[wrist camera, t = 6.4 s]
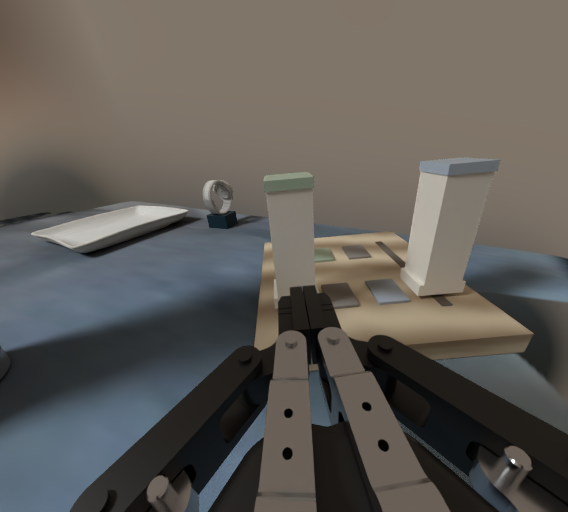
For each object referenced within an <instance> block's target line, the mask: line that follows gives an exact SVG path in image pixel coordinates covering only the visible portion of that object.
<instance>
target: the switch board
mask: <svg viewBox="0 0 568 512" xmlns="http://www.w3.org/2000/svg"><path fill="white" fill-rule="evenodd" d="M408 245H409V244H408V243H407V242H406V241H404V240H403V239H402V238H400V237H399V236H397V235H396V234H395V233H393V232H392V231H391V232H379V233H368V234H357V235H346V236H335V237H324V238H314V258H315V281H316V284H317V288H318V291H319V293H326V294H327V295H328V296H329V297H330V299H331V301H332V305H333V307H334V310H335V312H336V315H337V318H338V321H339V323H340V326H341V329H342V330H343V331H344V332H345V333H346V334H347V335H348V336H349V337H350V338H353V339H355V340H360V341H366V342H368V341H369V339H370V338H371V337H373V336H375V335H386V336H389V337H392V338H394V339H395V340H397V341H399V342H401V343H403V344H404V345H406V346H408V347H410V348H412V349H413V350H415V351H417V352H419V353H421V354H423V355H424V356H426V357H428V358H430V359H432V360H439V359H451V358H462V357H473V356H484V355H496V354H507V353H518V352H524V351H525V349H526V348H527V346H528V344H529V342H530V340H531V338H532V336H533V333H532V332H531V331H529V330H528V329H527V328H525V327H524V326H522V325H521V324H520V323H518V322H517V321H516V320H514V319H513V318H511V317H510V316H509V315H507V314H506V313H504V312H503V311H502V310H500V309H499V308H497V307H496V306H495V305H493V304H492V303H491V302H489V301H488V300H486V299H485V298H483V297H482V296H481V295H479V294H478V293H477V292H475V291H474V290H472V289H471V288H470V287H468V286H467V285H465V287H464V290H463V292H459V293H448V294H437V295H425V296H417V295H416V294H415V293H414V292H413V291H412V290H411V289H410V288H409V286H408V285H407V284H406V283H405V282H404V281H403V280H402V279H401V278H400V272H401V268H405V263H406V257H407V251H408ZM274 279H276V277H275V268H274V259H273V250H272V242H269V243H265V247H264V257H263V266H262V276H261V285H260V295H259V305H258V314H257V324H256V333H255V343H254V347H256V348H257V349H258V350H259V351H260V350H263V349H266V348H268V347H270V346H272V345H273V344H274V343H275V342H276V340H277V338H278V309H275V304H274ZM315 370H319V369H318V364H312V358H311V365H309V371H315Z"/></svg>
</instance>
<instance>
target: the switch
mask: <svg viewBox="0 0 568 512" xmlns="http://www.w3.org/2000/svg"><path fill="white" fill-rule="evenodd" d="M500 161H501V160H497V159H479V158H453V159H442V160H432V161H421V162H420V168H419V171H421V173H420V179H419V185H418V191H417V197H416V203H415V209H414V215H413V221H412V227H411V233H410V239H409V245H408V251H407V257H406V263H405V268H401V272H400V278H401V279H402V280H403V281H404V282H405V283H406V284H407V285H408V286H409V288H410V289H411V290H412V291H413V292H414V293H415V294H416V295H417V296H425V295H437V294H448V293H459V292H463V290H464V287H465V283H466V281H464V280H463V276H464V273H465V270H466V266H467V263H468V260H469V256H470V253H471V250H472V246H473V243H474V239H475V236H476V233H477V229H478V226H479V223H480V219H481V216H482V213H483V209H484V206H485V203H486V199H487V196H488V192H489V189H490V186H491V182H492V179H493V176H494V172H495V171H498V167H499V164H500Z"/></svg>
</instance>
